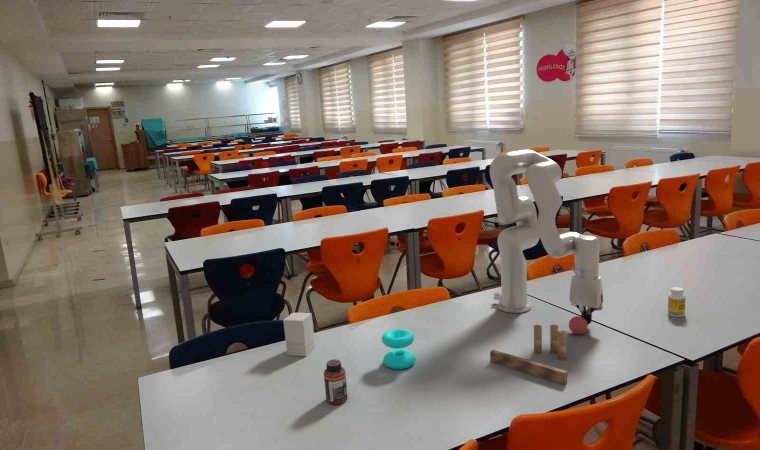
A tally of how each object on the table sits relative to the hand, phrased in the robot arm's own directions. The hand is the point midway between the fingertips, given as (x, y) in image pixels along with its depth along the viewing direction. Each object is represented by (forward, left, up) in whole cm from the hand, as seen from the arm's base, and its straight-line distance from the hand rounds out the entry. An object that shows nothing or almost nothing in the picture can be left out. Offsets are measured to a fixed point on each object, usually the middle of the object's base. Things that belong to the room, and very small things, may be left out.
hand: (586, 323), depth 187 cm
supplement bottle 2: (+20, +29, -2) cm, 35 cm away
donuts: (-34, -58, -2) cm, 67 cm away
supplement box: (-67, -71, -2) cm, 98 cm away
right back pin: (+4, -26, -2) cm, 27 cm away
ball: (0, -6, +1) cm, 6 cm away
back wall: (0, -40, -2) cm, 40 cm away
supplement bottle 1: (-33, -85, -2) cm, 91 cm away
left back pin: (-4, -26, -2) cm, 27 cm away
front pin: (0, -23, -2) cm, 23 cm away
